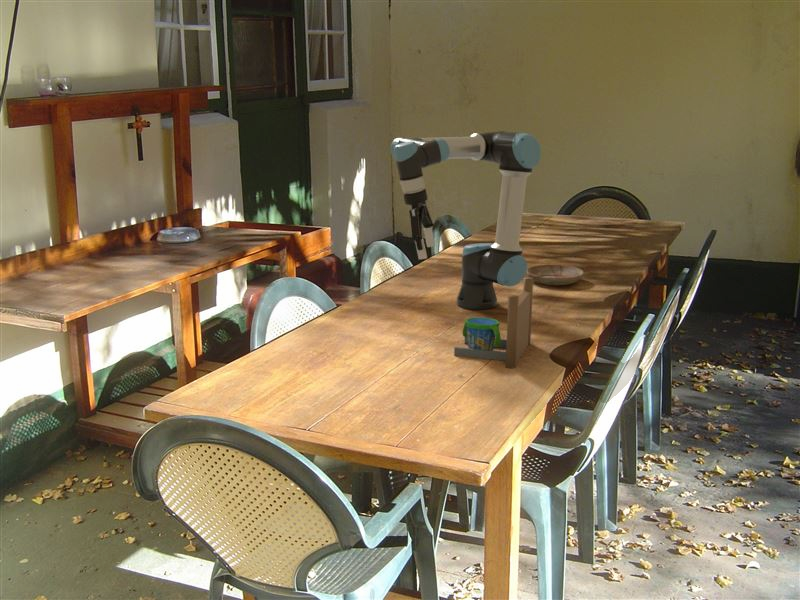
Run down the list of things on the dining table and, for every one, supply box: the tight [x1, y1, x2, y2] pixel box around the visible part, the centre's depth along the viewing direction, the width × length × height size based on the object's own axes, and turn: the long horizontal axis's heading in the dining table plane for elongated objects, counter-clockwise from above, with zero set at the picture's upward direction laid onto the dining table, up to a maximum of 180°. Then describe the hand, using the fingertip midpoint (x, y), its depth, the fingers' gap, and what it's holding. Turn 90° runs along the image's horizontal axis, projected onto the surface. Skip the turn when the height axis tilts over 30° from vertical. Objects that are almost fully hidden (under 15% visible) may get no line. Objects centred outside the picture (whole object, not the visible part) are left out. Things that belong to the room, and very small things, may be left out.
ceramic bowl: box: [526, 264, 585, 286], centre depth 384 cm, size 23×24×5 cm
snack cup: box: [462, 316, 502, 351], centre depth 293 cm, size 16×10×10 cm
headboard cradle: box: [453, 276, 534, 369], centre depth 293 cm, size 27×20×22 cm
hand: (427, 252), depth 308 cm, fingers open, 13 cm apart
